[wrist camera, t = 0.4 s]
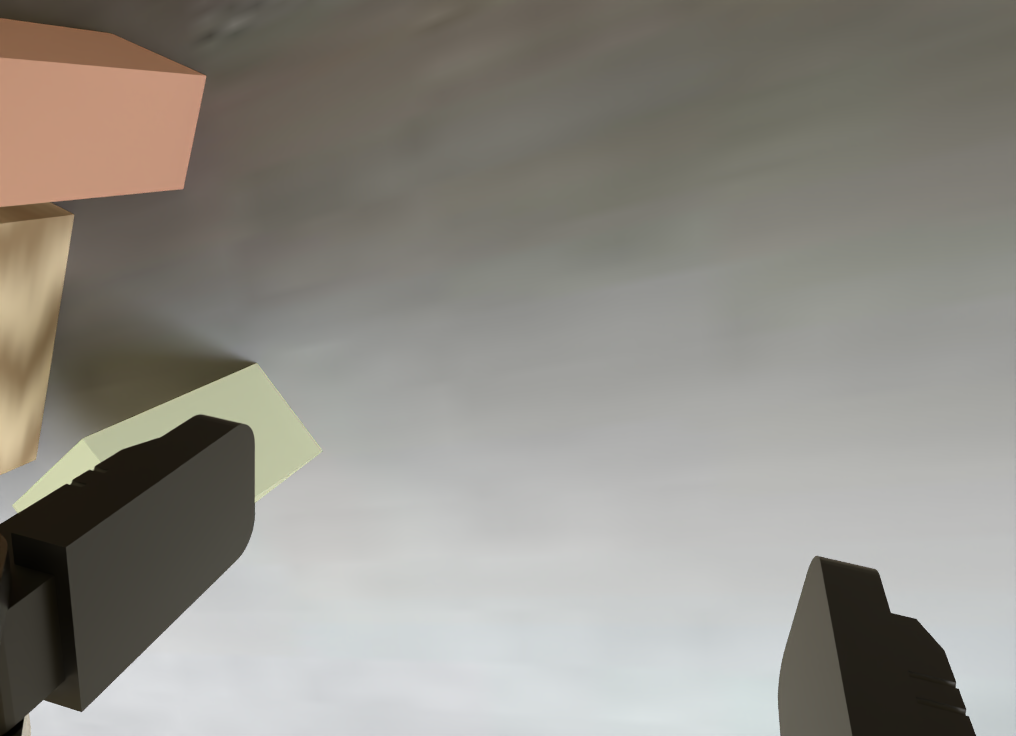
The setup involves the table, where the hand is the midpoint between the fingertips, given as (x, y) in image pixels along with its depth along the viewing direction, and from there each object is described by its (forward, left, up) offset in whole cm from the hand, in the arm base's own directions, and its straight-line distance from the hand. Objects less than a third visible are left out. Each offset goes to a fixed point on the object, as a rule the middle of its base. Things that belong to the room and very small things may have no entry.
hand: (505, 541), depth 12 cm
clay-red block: (+3, -24, -21) cm, 32 cm away
